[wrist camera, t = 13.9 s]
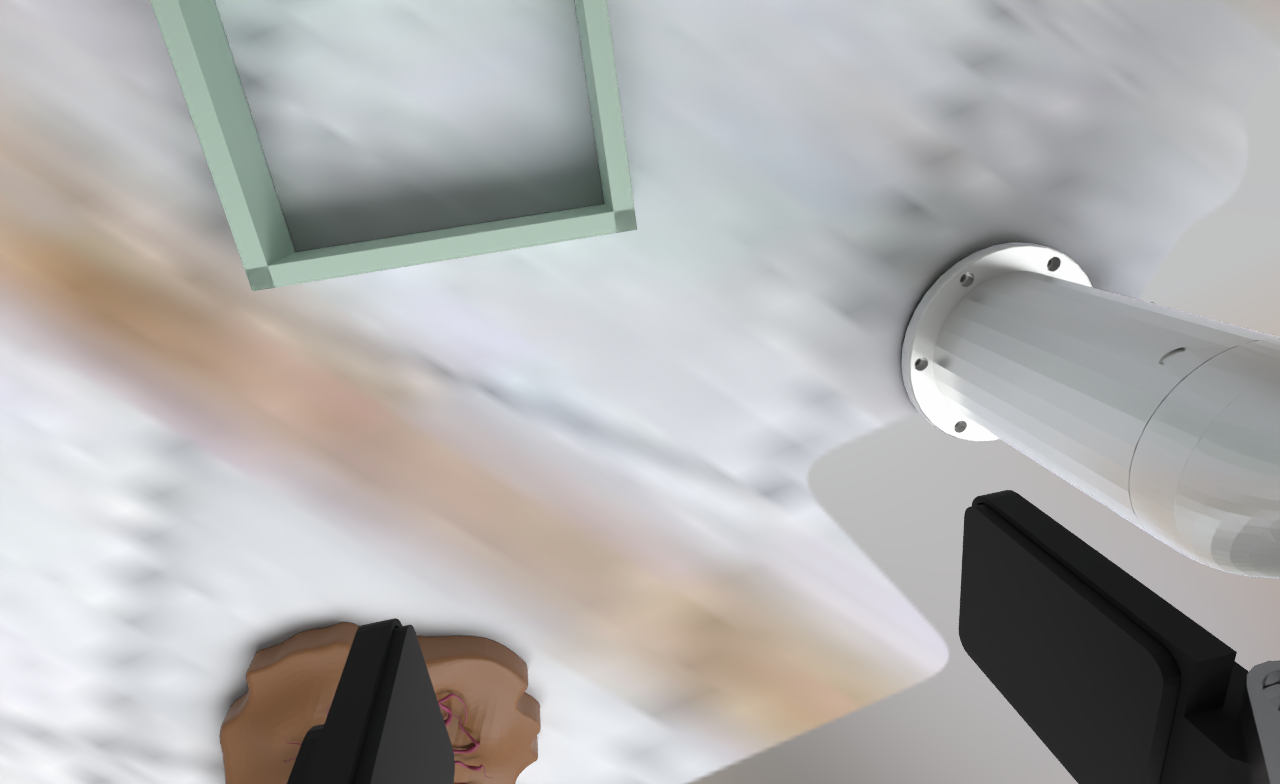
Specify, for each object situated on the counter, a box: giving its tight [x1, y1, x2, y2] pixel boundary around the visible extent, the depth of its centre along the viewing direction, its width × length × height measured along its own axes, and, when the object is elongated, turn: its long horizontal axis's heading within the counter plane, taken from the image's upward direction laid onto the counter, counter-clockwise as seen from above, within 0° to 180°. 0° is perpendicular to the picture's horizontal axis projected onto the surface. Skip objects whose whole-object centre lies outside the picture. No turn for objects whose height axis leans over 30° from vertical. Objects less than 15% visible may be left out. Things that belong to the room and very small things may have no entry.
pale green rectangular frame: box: [150, 0, 637, 291], centre depth 31 cm, size 18×14×4 cm
